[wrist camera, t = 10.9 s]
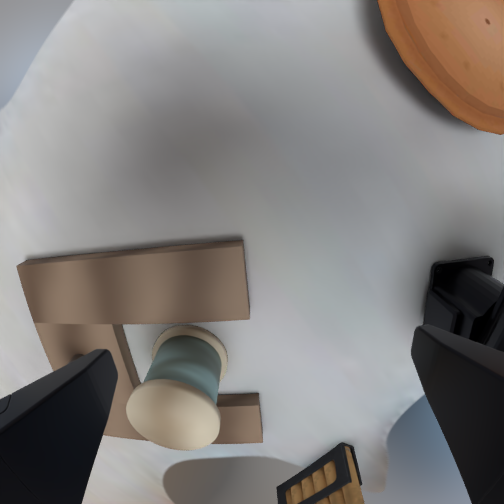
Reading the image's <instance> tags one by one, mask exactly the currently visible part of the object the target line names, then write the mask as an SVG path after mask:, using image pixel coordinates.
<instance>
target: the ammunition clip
mask: <svg viewBox="0 0 504 504" xmlns="http://www.w3.org/2000/svg"><path fill="white" fill-rule="evenodd" d="M361 485H362V481H361V476H360V472H359V468H358V463H357V459H356V455H355V450H354V447H352V446H349V445H347V444H344V443H340V444H339V445H337V446H336V447H335V448H333V449H332V450H331V451H329V452H328V453H327V454H325V455H324V456H323V457H321V458H320V459H318V460H317V461H316V462H314V463H313V464H311V465H310V466H308V467H307V468H305V469H304V470H302V471H301V472H299V473H298V474H296V475H295V476H293V477H292V478H290V479H289V480H287V481H286V482H284V483H282V484H281V485H279V486H278V487H277V498H278V504H364V500H363V496H362V492H361V488H360V486H361Z"/></svg>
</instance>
